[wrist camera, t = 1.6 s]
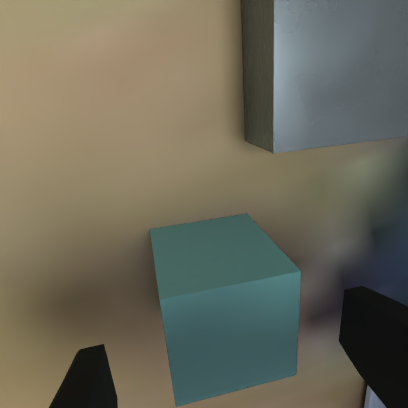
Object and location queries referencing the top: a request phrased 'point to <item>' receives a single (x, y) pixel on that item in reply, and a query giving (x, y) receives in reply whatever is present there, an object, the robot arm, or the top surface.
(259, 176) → the top surface
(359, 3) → the base block
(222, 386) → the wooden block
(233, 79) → the top surface
